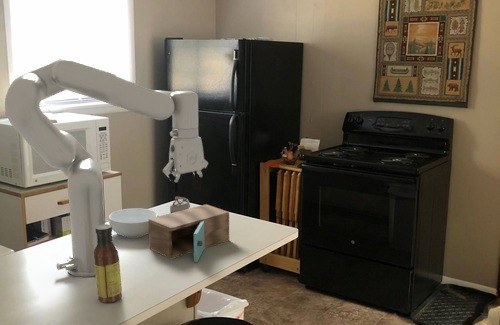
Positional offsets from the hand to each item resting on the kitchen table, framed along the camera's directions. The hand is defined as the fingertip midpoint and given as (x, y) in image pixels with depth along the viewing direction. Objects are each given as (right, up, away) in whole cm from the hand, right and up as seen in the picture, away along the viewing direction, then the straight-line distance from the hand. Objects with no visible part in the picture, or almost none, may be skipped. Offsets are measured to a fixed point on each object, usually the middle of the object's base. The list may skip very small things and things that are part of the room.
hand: (186, 191), depth 169 cm
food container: (-5, -15, +33) cm, 37 cm away
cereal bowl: (-21, -16, +27) cm, 38 cm away
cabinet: (-1, -18, +17) cm, 25 cm away
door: (+4, -20, +7) cm, 22 cm away
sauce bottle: (-18, -27, -22) cm, 39 cm away
